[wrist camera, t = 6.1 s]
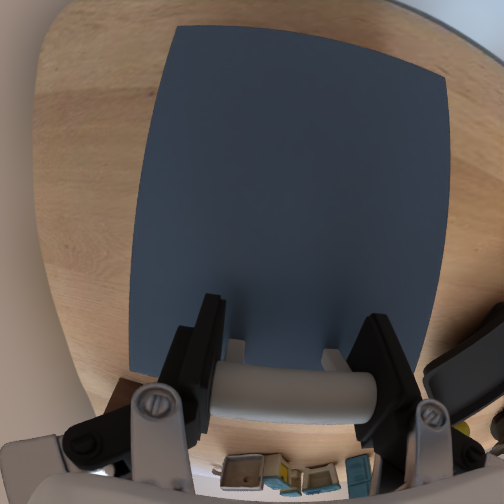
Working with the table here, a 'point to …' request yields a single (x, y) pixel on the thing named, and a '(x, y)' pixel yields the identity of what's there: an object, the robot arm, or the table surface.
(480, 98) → the table surface
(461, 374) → the tray
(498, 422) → the stone bowl
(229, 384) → the box lid
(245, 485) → the decorative sculpture
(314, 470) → the toy kitchen set
